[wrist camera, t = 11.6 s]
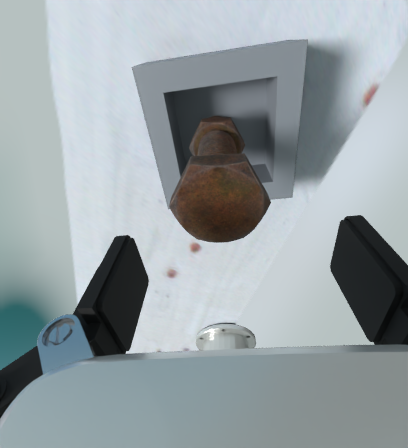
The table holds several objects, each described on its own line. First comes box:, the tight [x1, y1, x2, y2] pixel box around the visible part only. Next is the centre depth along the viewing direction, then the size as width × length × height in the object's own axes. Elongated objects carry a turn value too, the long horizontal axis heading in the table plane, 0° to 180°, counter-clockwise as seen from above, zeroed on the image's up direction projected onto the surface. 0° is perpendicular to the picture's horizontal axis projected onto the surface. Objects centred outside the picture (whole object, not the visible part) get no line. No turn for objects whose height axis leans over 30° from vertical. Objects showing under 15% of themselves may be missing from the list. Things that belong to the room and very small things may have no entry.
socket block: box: [132, 40, 308, 209], centre depth 24 cm, size 13×13×6 cm
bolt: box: [169, 116, 271, 242], centre depth 20 cm, size 6×5×15 cm
